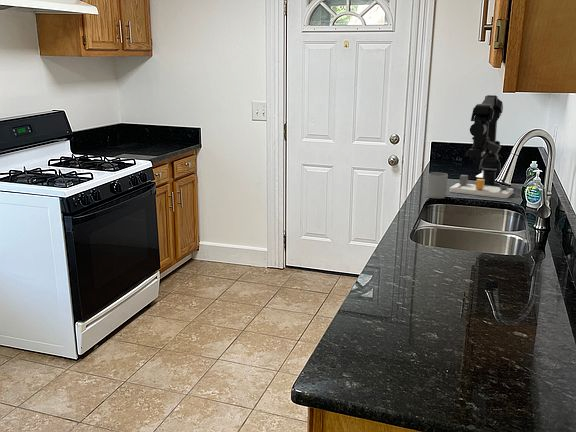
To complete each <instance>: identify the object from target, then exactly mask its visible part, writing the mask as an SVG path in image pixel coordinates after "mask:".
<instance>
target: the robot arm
mask: <svg viewBox="0 0 576 432" xmlns="http://www.w3.org/2000/svg"><path fill="white" fill-rule="evenodd" d="M503 104H504V103H503V101H502V100H500V99H499V98H498V96H497V95H495V94H494V95H491V94H490V95H489V94H488V95H485V97H484V99H483V101H482V102H481V103H477V104H476V105H475V106H474V107H473V108H472V113H471V117H470V122H473V124H471V125H470V127H469V132H470V135H472V136H473V137H471V140H472V146H471V148H469V149H468V150H466V153H465V156H467V157H470V158H471V161H472V164H473V167H474V170H475V171H476V172H480V171H481V172H482V171H483V178H482V179H485V183H484V185H496V183H495V181H496V174H497V173H500V172H501V167H502V166H501V165H502V164H501V162H500V159H499V152H500V150H501V149H502V145H501V142H500V141H498V140H497V129H498V125H497V124H498V120H499V119H500V117H501V116H502V114H503V110H504V105H503ZM484 152H485V153H484Z"/></svg>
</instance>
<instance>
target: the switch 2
mask: <svg viewBox="0 0 576 432" xmlns="http://www.w3.org/2000/svg"><path fill="white" fill-rule="evenodd" d="M499 187H500V189H508V188H509V185H508V186H503V185H500V184H499Z"/></svg>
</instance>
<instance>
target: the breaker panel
mask: <svg viewBox="0 0 576 432" xmlns="http://www.w3.org/2000/svg"><path fill="white" fill-rule="evenodd" d="M475 188H476V184H474V183H473V184H472V183H468V184H467V185H462V184H459V182H457V183H455V184H454V185H452V186H450V187H449V190H448V191H449V193H457V194H463V195H465V194H466V195H474V196H482V197H488V198H489V197H490V198H497V199H508V198H509V197H510V196H511V195H513V194H514V188H511V187H508V189H500V186H491V185H484V189H475Z"/></svg>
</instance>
